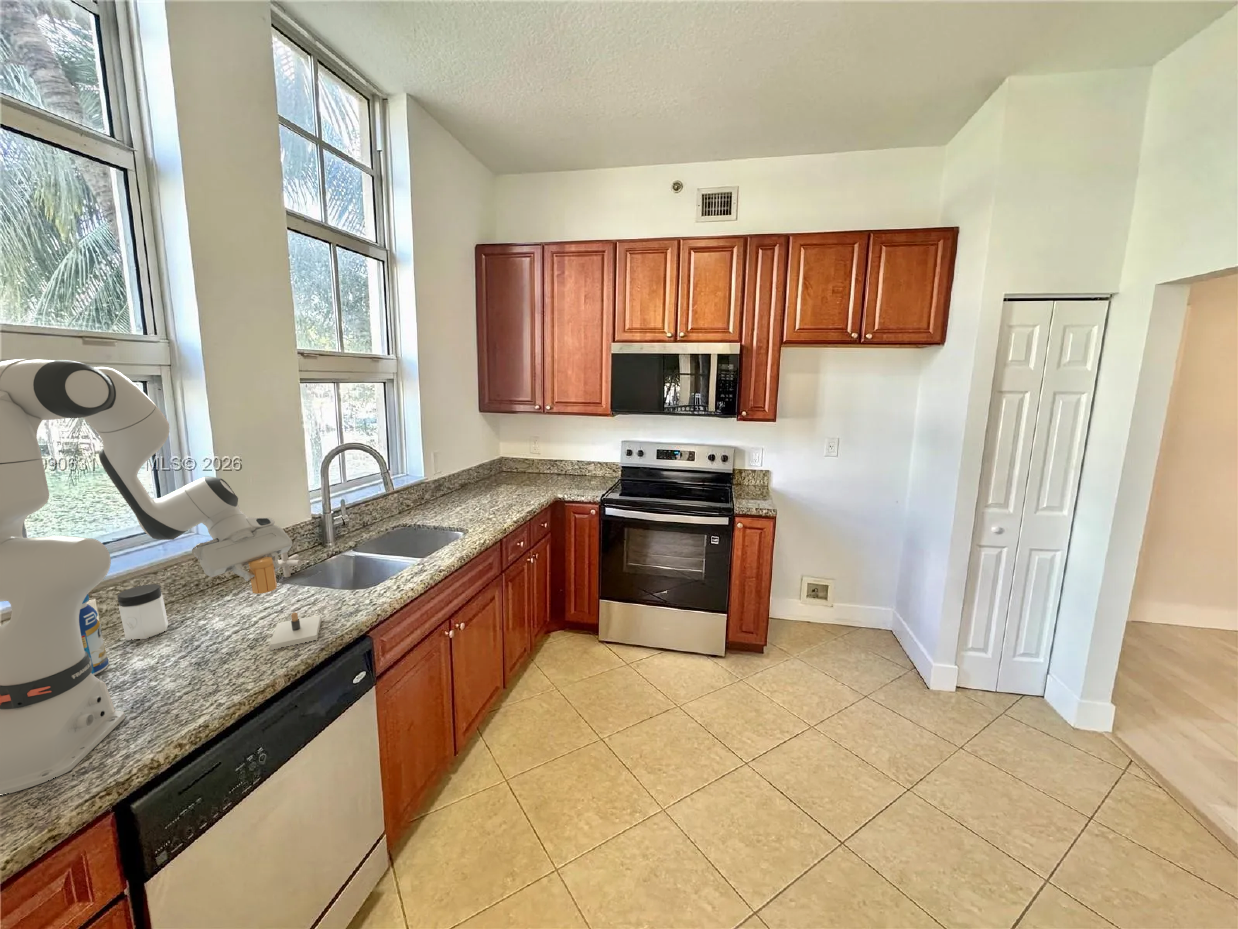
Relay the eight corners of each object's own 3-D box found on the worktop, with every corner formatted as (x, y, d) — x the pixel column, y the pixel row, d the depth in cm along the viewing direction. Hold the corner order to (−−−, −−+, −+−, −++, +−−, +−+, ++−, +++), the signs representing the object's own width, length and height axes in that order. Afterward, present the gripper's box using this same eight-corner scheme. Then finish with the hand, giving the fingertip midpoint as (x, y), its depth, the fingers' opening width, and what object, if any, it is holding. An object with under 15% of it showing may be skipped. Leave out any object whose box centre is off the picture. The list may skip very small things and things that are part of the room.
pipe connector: (311, 570, 170) (308, 543, 168) (290, 583, 160) (285, 554, 158) (285, 570, 171) (281, 542, 169) (262, 582, 161) (257, 553, 159)
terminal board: (317, 640, 126) (314, 618, 124) (270, 650, 121) (266, 627, 120) (321, 619, 136) (318, 599, 135) (278, 628, 132) (275, 607, 131)
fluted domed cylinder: (275, 591, 127) (270, 562, 126) (251, 595, 125) (246, 565, 124) (278, 584, 132) (273, 555, 130) (255, 587, 129) (250, 559, 128)
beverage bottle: (47, 680, 110) (26, 598, 107) (95, 659, 118) (77, 582, 114) (71, 687, 108) (50, 603, 104) (119, 665, 116) (101, 586, 112)
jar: (115, 642, 126) (105, 598, 124) (141, 626, 134) (132, 585, 132) (154, 639, 127) (145, 596, 125) (177, 623, 135) (169, 582, 133)
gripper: (192, 539, 119) (223, 583, 117) (278, 516, 137) (306, 553, 135) (184, 554, 121) (215, 597, 119) (270, 529, 140) (297, 567, 138)
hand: (264, 574), depth 127 cm, fingers closed on fluted domed cylinder, 5 cm apart
